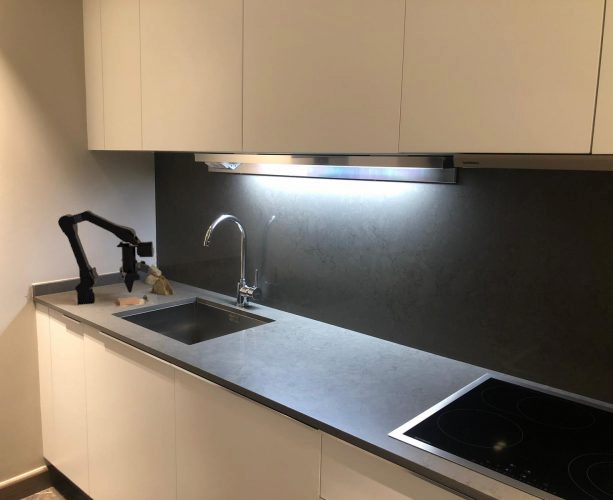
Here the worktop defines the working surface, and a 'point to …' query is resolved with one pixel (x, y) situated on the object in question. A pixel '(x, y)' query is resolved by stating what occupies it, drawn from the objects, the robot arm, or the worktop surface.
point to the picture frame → (128, 301)
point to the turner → (147, 300)
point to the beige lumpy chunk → (153, 275)
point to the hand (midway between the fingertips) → (130, 292)
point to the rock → (162, 287)
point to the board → (141, 302)
